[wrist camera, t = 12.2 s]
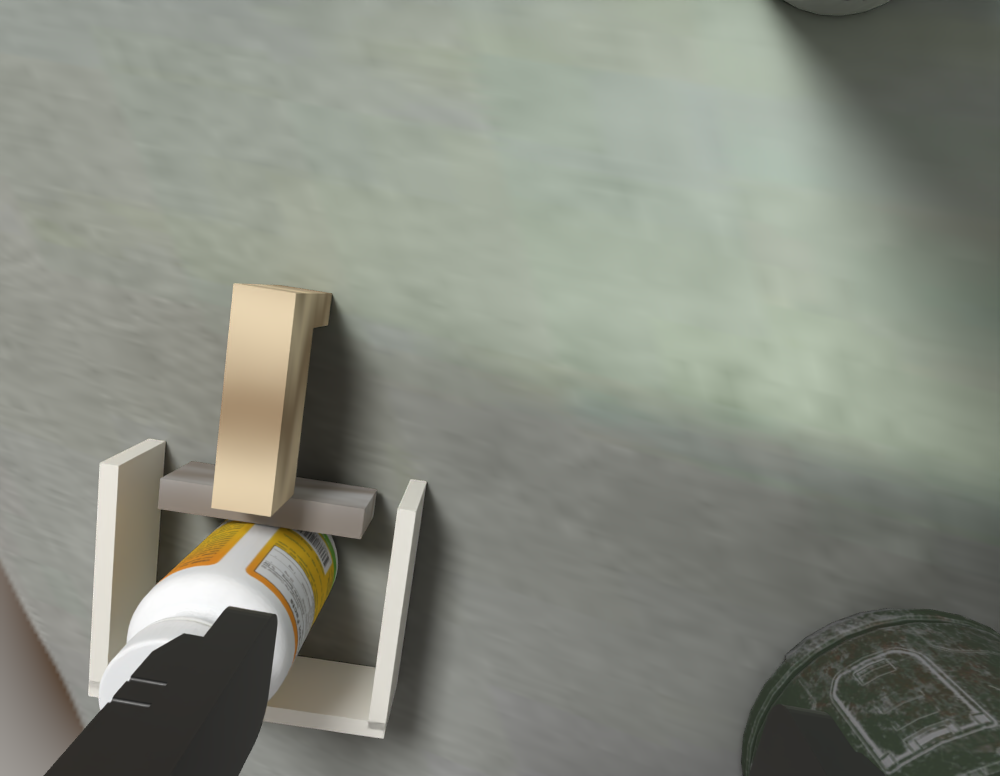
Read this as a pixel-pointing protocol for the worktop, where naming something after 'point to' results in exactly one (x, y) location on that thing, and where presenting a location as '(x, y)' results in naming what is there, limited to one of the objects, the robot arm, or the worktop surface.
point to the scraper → (268, 425)
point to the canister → (897, 691)
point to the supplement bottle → (233, 594)
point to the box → (310, 682)
